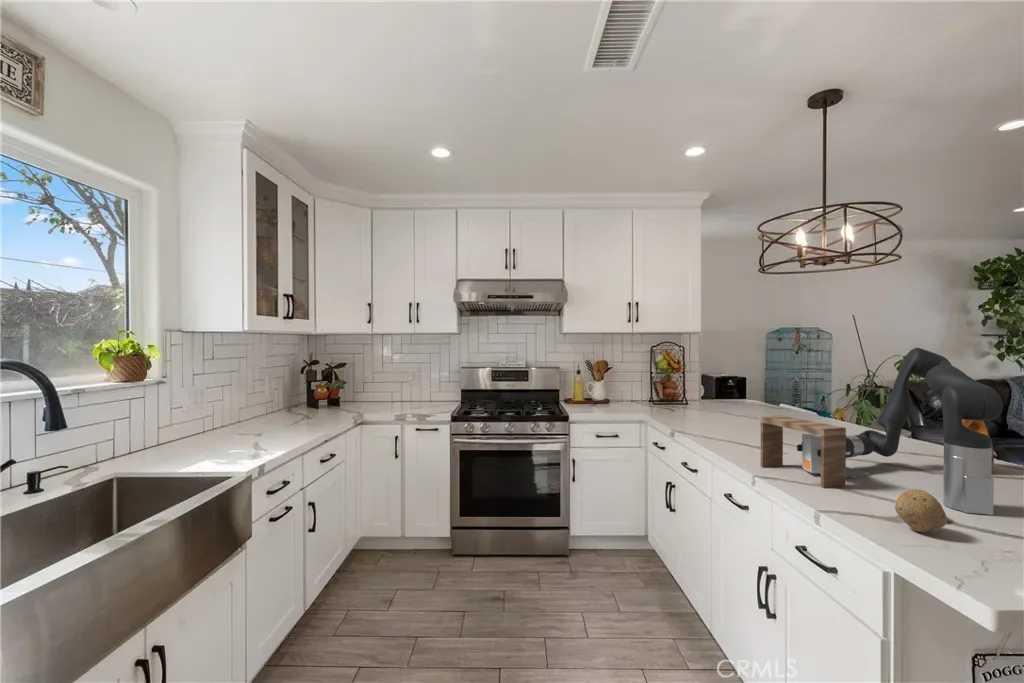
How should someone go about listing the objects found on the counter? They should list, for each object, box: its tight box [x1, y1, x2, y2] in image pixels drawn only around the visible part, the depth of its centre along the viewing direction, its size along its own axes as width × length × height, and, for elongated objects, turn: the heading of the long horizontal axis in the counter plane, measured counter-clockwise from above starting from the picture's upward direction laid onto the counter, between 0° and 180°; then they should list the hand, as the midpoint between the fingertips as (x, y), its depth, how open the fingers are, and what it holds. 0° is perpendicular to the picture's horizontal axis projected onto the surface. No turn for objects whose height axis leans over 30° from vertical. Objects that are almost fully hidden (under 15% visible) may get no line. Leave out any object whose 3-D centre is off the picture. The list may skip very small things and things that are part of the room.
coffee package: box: [962, 419, 995, 473], centre depth 160 cm, size 10×12×22 cm
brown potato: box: [894, 488, 948, 534], centre depth 109 cm, size 9×9×10 cm
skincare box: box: [801, 433, 821, 474], centre depth 155 cm, size 6×4×12 cm
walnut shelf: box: [760, 415, 847, 489], centre depth 153 cm, size 24×9×18 cm, turn 17°
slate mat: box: [846, 466, 871, 479], centre depth 158 cm, size 13×13×1 cm
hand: (808, 450), depth 154 cm, fingers closed on skincare box, 7 cm apart
